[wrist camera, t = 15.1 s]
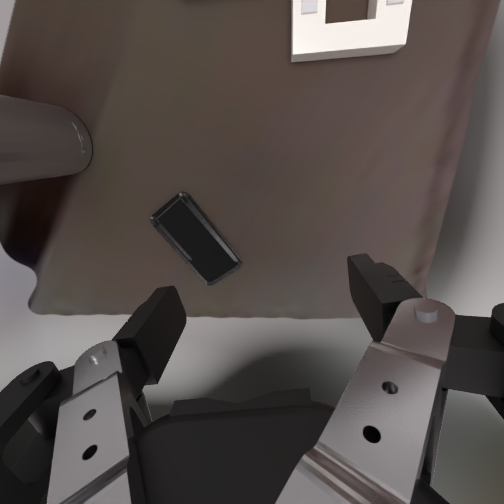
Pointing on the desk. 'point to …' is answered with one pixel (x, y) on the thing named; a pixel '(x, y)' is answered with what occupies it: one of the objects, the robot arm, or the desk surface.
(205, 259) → the phone
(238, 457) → the robot arm
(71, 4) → the desk surface
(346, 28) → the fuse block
